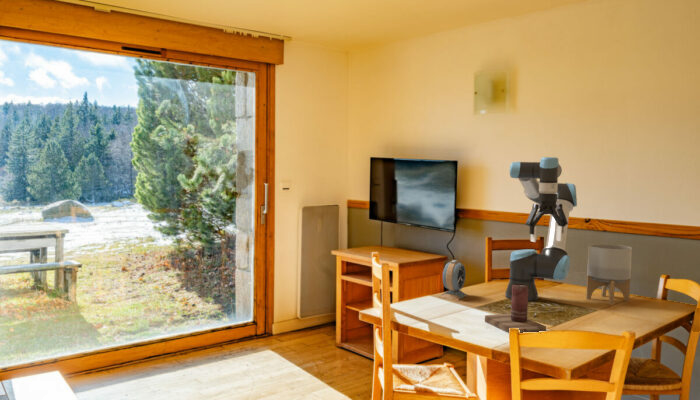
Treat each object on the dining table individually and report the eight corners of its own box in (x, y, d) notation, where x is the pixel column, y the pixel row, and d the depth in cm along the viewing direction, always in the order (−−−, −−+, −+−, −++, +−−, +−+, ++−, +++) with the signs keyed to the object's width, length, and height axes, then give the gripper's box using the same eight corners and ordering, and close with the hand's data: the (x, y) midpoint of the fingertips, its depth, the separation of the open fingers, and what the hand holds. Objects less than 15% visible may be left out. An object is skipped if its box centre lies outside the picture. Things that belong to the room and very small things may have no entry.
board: (484, 321, 222) (484, 315, 222) (514, 318, 226) (514, 313, 226) (518, 337, 201) (518, 331, 200) (550, 334, 205) (550, 328, 205)
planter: (590, 303, 256) (592, 248, 255) (583, 294, 275) (585, 242, 273) (634, 306, 252) (636, 250, 250) (623, 297, 270) (626, 244, 269)
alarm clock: (457, 300, 257) (458, 263, 256) (438, 297, 262) (439, 261, 261) (468, 294, 269) (469, 259, 268) (449, 292, 274) (450, 257, 273)
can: (507, 318, 217) (508, 284, 216) (520, 317, 219) (521, 283, 218) (516, 323, 211) (517, 287, 210) (530, 321, 213) (531, 286, 212)
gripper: (529, 193, 230) (527, 243, 231) (577, 193, 238) (575, 241, 239) (518, 192, 237) (516, 240, 238) (565, 192, 245) (563, 239, 246)
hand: (546, 241), depth 239 cm, fingers open, 13 cm apart
